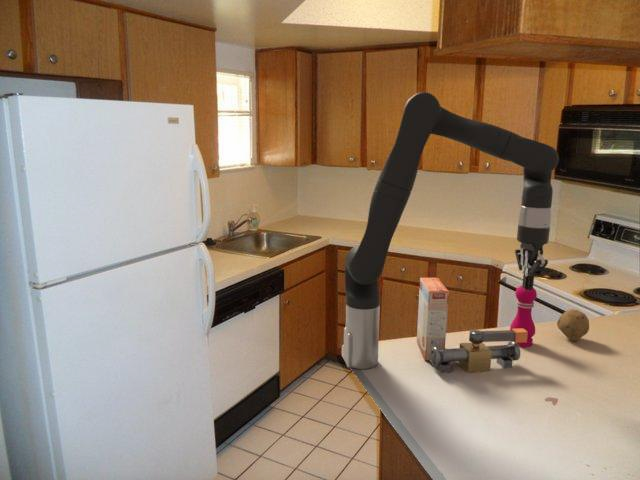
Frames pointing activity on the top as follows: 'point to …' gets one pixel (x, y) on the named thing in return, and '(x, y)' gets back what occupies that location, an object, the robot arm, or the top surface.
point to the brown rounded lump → (573, 324)
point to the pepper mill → (525, 314)
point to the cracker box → (432, 315)
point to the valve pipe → (475, 356)
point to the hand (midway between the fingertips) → (527, 289)
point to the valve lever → (498, 336)
